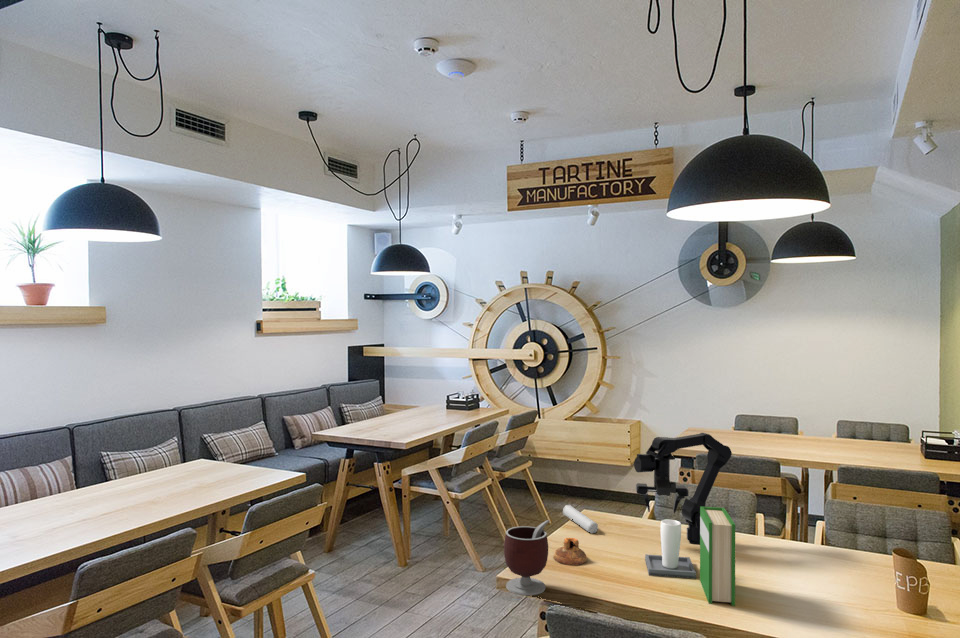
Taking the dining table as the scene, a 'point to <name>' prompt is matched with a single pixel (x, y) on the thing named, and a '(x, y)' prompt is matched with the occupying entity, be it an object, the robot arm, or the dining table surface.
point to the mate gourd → (526, 558)
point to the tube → (580, 519)
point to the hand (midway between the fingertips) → (661, 512)
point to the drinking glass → (670, 542)
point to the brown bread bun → (570, 553)
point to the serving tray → (682, 571)
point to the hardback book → (717, 554)
